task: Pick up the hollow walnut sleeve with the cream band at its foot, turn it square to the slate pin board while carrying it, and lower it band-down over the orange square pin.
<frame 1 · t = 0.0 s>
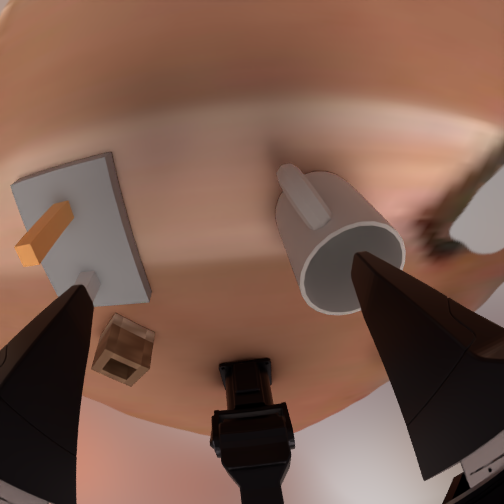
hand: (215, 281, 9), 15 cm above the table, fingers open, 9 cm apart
pin board: (82, 237, 24), on the table
sleeve: (126, 334, 31), on the table
cup: (306, 196, 24), on the table
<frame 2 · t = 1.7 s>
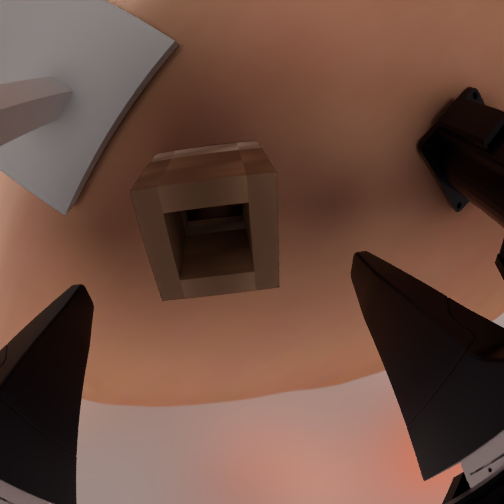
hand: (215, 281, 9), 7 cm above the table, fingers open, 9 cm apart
pin board: (25, 68, 9), on the table
sleeve: (211, 192, 15), on the table
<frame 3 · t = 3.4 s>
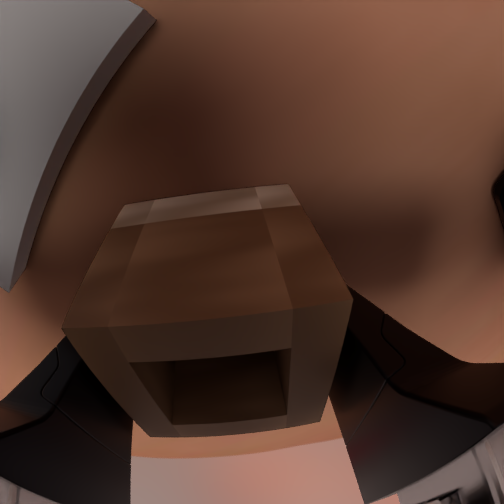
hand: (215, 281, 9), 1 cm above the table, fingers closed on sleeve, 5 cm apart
sleeve: (214, 261, 10), on the table, touching gripper
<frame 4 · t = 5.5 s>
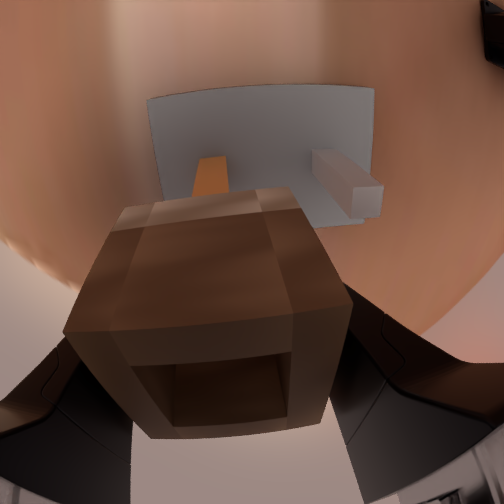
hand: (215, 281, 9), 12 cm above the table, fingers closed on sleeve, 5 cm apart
pin board: (266, 157, 19), on the table
sleeve: (215, 264, 10), point 11 cm above the table, touching gripper
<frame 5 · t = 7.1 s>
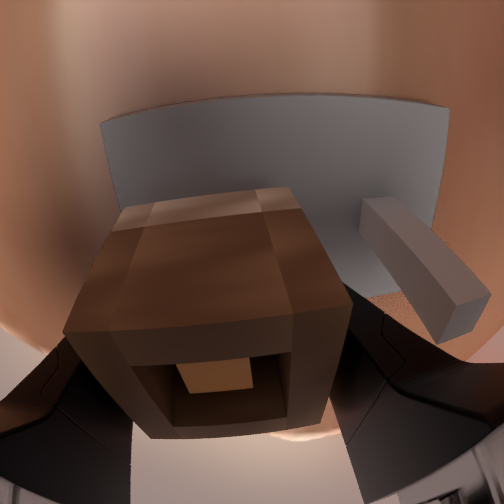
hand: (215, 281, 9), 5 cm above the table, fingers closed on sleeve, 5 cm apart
pin board: (291, 205, 13), on the table
sleeve: (215, 264, 10), point 4 cm above the table, touching gripper
when the fingers open (4 cm above the table, at t = 8.1 s): sleeve drops 1 cm, resting on pin board.
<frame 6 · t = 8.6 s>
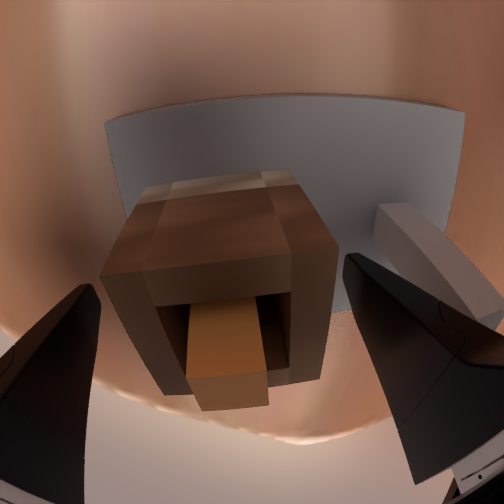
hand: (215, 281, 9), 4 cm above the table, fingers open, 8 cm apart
pin board: (304, 210, 13), on the table
sleeve: (224, 238, 11), point 1 cm above the table, touching pin board
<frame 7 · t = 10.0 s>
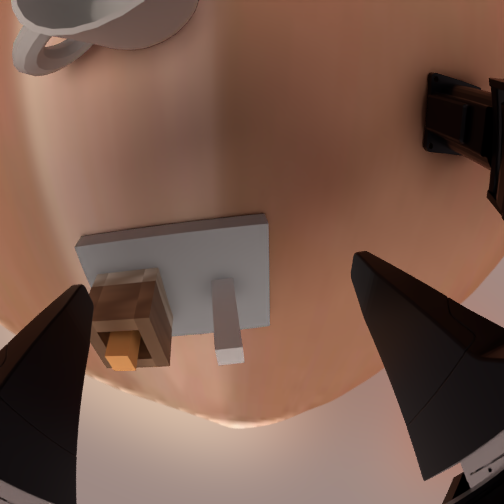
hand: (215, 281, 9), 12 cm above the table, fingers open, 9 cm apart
pin board: (178, 279, 23), on the table
sleeve: (135, 296, 22), point 1 cm above the table, touching pin board
cup: (125, 15, 12), on the table
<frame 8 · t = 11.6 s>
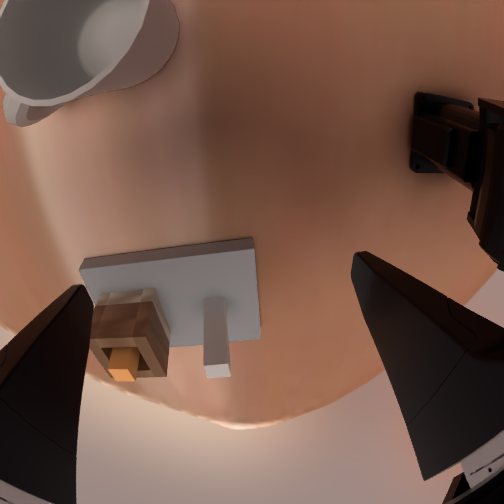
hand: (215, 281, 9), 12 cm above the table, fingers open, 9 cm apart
pin board: (175, 296, 25), on the table
sleeve: (136, 312, 24), point 1 cm above the table, touching pin board
cup: (110, 53, 14), on the table
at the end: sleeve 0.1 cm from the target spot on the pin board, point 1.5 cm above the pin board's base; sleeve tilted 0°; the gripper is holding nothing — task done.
